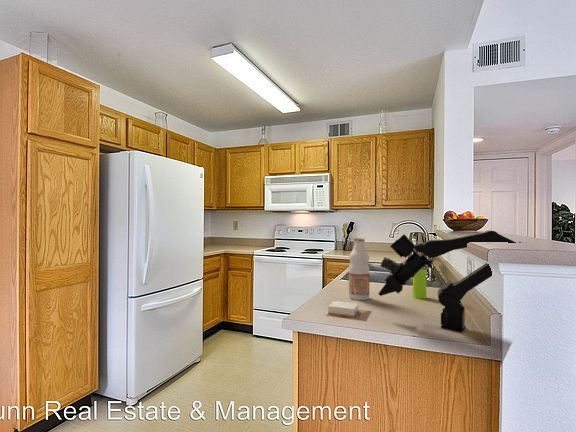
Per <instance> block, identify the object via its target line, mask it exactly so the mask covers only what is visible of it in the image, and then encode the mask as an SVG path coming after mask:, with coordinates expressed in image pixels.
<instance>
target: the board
mask: <svg viewBox="0 0 576 432" xmlns="http://www.w3.org/2000/svg"><path fill="white" fill-rule="evenodd" d="M371 313H372V310H371V311H370V310H365V309H364V310H363V309H358V313H357V314H356V315H355V317H349V316H341V315H334V314H328V313H327V314H326V315H325V317H332V318H339V319H346V320H347V319H348V320H355V321H361V322H367V320H368V318H369V317H370V315H371Z"/></svg>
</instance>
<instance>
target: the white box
mask: <svg viewBox="0 0 576 432" xmlns="http://www.w3.org/2000/svg"><path fill="white" fill-rule="evenodd" d="M358 310H359V303H354V302H346V301H345V302H343V301H338V300H337V301H336V300H334V301H332V302H331V303H330V304H329V305H328V310H327V312H328V313H327V314H334V315H341V316H349V317H355V315H356V314H357V313H358Z"/></svg>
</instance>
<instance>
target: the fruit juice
mask: <svg viewBox="0 0 576 432" xmlns="http://www.w3.org/2000/svg"><path fill="white" fill-rule="evenodd" d="M353 243H354V245H353V248H352V251H351V252H350V254H349V255H348V258H349V262H350V263H349V266H348V267H349V268H348V297H349V299H350V300H354V301H367V300H369V299H370V266H369V261H370V255H369V253H368V252H367V250H366V246H365V238H361V237H360V238H359V237H356V238H353Z"/></svg>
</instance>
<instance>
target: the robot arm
mask: <svg viewBox="0 0 576 432" xmlns="http://www.w3.org/2000/svg"><path fill="white" fill-rule="evenodd" d="M514 241H515V240H512V239H511V238H508V237H506V236H504V235H501V234H500V233H498V232H497V231H494V230H486V231H484V232H479V233H474V234H469V235H464V236H460V237H459V236H458V237H455V238H450V239H447V238H446V239H429V240H428V239H427V240H426V241H425V242H424V243H416V244H415V243H414V242H413V241H411V240H410V239H409V238H408V236H407V235H406V234H402V235H401V236H400V237H399V238H397V239H396V240H395V241H394V242H393V243H392V244H390V246H389V248H390V249H392V250H393V251H394V252H395V253H396V255H398V256H399V257H400V258H402V257H404V258H405V260H404V261H403V262H400V263H398V262H396V261H394V260H393V259H390V258H388V257H385V256H384V258H383V260H382V261H381V263H380V267H381V268H385V269H387V270H388V271H389V274H388V275H387V276H386V277H385V278H384V281H385V284H384V286H383V287H382V288H381V289H380V291H379V292H378V295H379V296H381V297H382V296H384V295H385V296H386V295H388V294H391V293H395V292H396V294H400V293H401V292H402V291H403V289H404V286H405V285H406V284H407V282H408V281H410V280H411V278H412V279H413V277H414V276H415V274H416V273H417V272H419V271H420V270H421V269H422V268H423V269H424V267H425V266H427V267H428V268H429V269H432V268H433V259H429V258H434V259H435V258H437V257H440V256H442V255H444V254H447V253H449V252H453V251H455V250H460V249H465V248H468V247H467V243H469V242H508V243H516V242H514ZM518 242H519V243H521V241H518ZM419 253H421V254H419ZM420 255H421V256H420ZM425 256H428V258H427V257H425ZM406 258H407V259H406ZM491 277H493V276H492V271H491V268H490V266H489V264H487V262H486V263H484V264H483V265H481V266H479V267H478V268H477V269H475V270H474V271H472V272H470V273H469V274H467V275H465V277H463V278H461V279H459V280H458V281H455V282H452V280H448V281H447V282H446V283H444V284H443V285H440V286H439V287H440V288H438V290H437V297H438V302H439V303H440V305H442V306H443V307H444V308H442V312H441V313H440V325H441V326H440V328H441V329H444V330H448V331H453V332H458V333H462V331H463V330H464V331H465V330H466V328H467V326H466V324H465V323H466V322H465V319H466V318H465V317H466V315H465V313H466V312H465V310H466V309H465V307H464V304H463V302H462V301H461V300H462V299H463V298H464V296H465V295H466V294H467V293H468V292H469V291H471V290H473V289H474V288H475V287H478V286H479V285H481V284H482V283H484V282H485V281H486V280H488V279H490V278H491Z"/></svg>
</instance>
